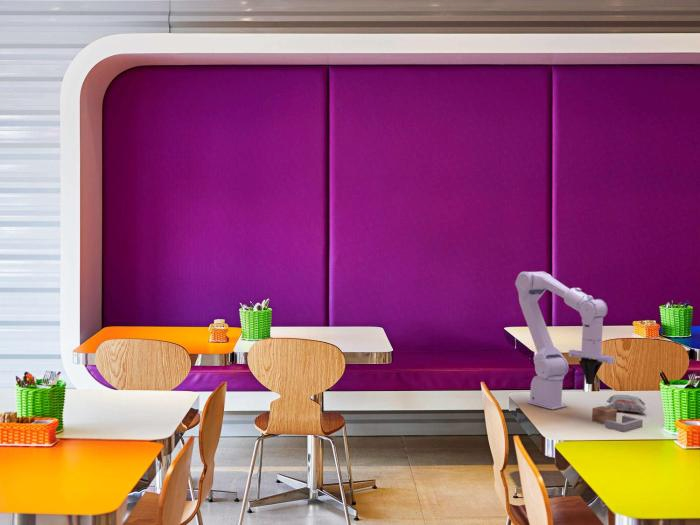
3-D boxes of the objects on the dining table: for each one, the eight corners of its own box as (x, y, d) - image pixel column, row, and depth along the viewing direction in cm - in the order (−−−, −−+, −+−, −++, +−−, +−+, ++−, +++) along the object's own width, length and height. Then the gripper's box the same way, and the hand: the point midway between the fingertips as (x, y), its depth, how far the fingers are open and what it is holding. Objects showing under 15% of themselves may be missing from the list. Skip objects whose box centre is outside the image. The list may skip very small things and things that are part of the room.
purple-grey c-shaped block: (604, 426, 223) (605, 420, 223) (623, 421, 230) (624, 415, 230) (623, 431, 218) (623, 425, 218) (642, 426, 225) (642, 419, 225)
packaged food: (645, 416, 237) (646, 401, 237) (605, 412, 241) (606, 396, 241) (645, 410, 245) (645, 395, 245) (606, 406, 249) (606, 391, 249)
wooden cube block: (591, 421, 229) (592, 408, 229) (601, 418, 233) (602, 405, 232) (606, 425, 226) (607, 412, 225) (616, 422, 229) (616, 409, 228)
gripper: (620, 341, 229) (618, 386, 230) (578, 335, 240) (576, 377, 241) (608, 343, 224) (605, 389, 225) (565, 336, 235) (563, 380, 236)
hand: (589, 383), depth 233 cm, fingers closed
